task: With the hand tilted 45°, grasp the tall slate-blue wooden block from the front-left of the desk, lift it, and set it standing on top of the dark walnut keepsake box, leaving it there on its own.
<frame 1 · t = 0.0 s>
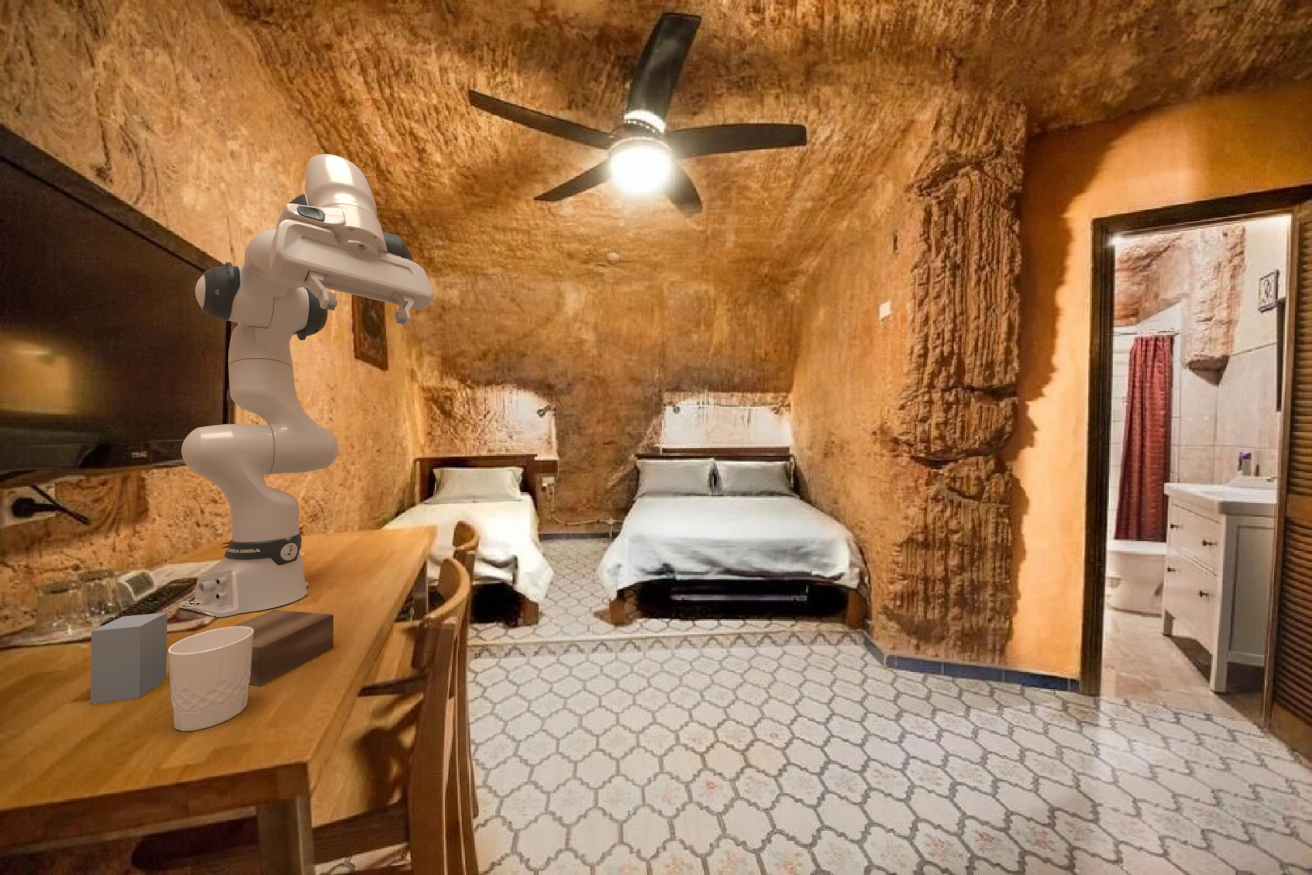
hand: (368, 314, 62), 54 cm above the table, tool tilted 30°, fingers open, 8 cm apart
white cup: (212, 716, 57), on the table
walnut box: (268, 663, 70), on the table
slate block: (130, 690, 62), on the table
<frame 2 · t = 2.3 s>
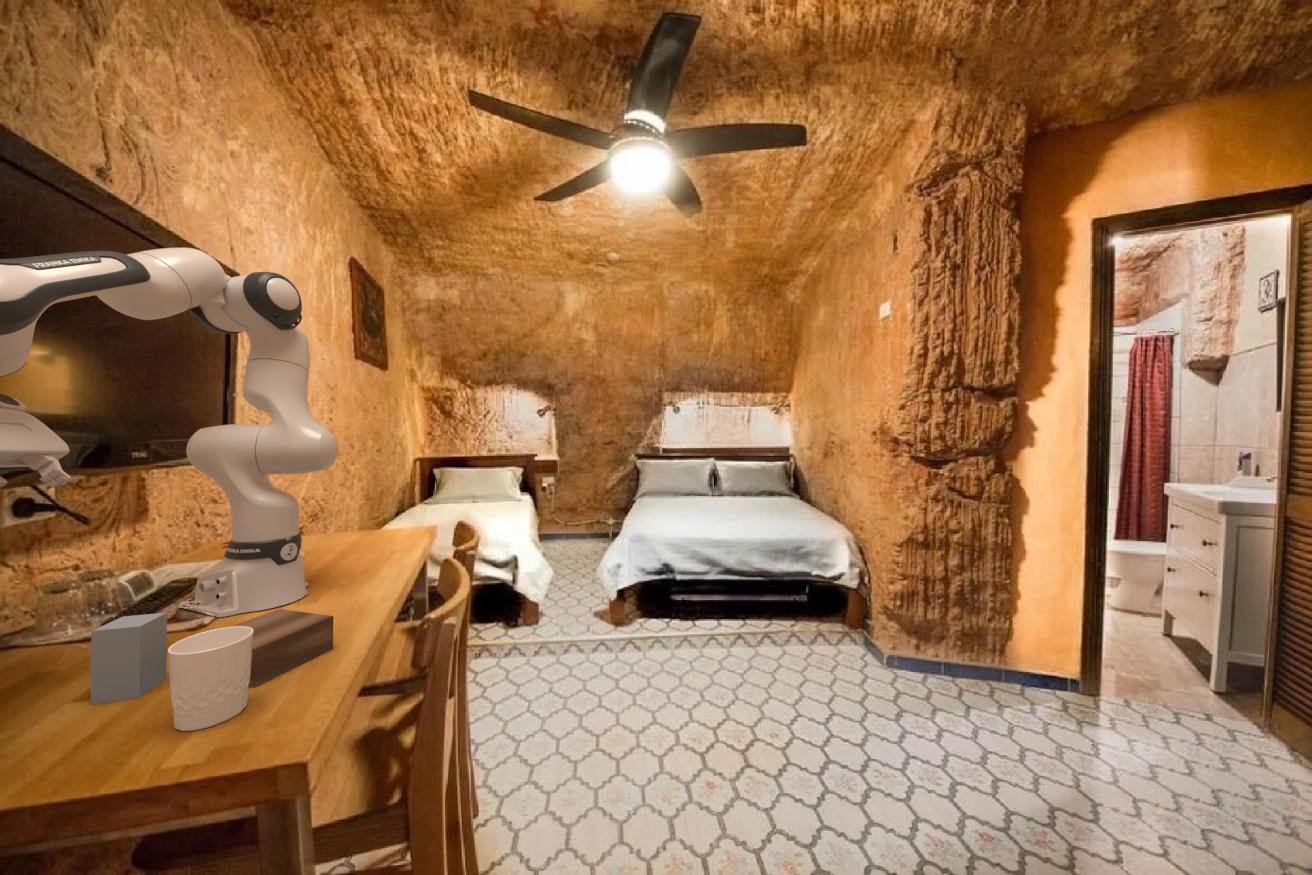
hand: (31, 485, 58), 30 cm above the table, tool tilted 45°, fingers open, 8 cm apart
nothing on the table moved.
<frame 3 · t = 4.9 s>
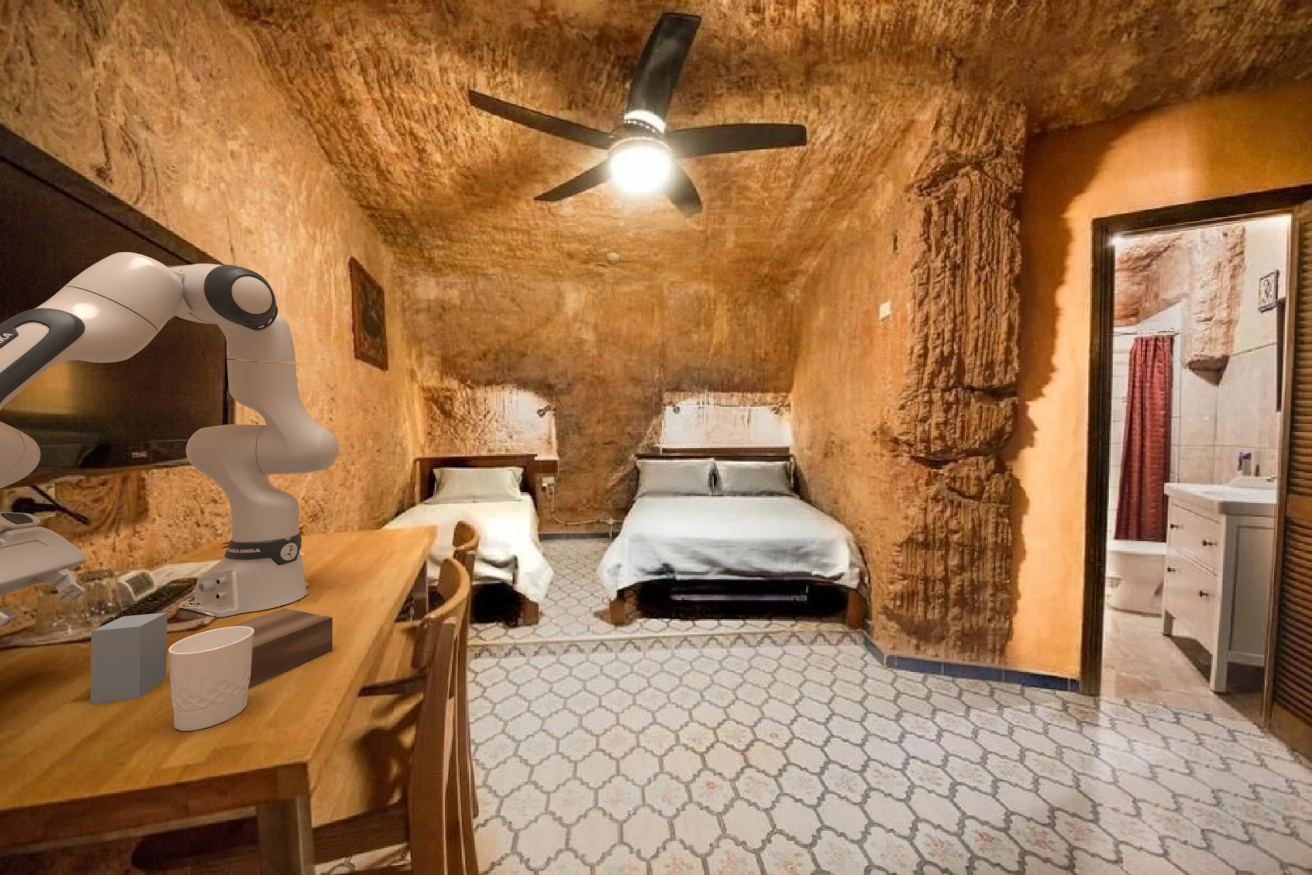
hand: (44, 609, 59), 13 cm above the table, tool tilted 45°, fingers open, 8 cm apart
nothing on the table moved.
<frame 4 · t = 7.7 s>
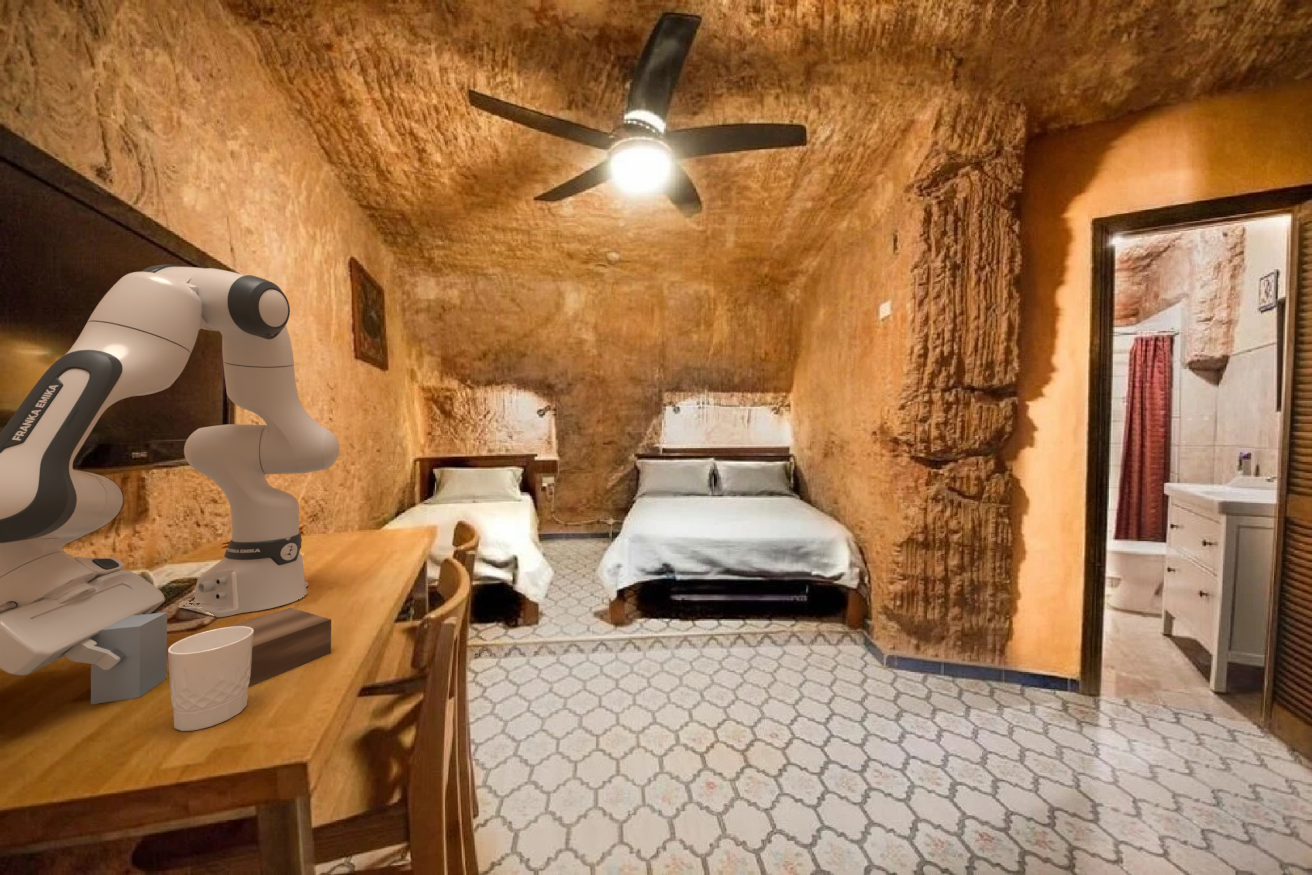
hand: (136, 652, 62), 5 cm above the table, tool tilted 45°, fingers closed on slate block, 5 cm apart
slate block: (130, 690, 62), on the table, touching gripper
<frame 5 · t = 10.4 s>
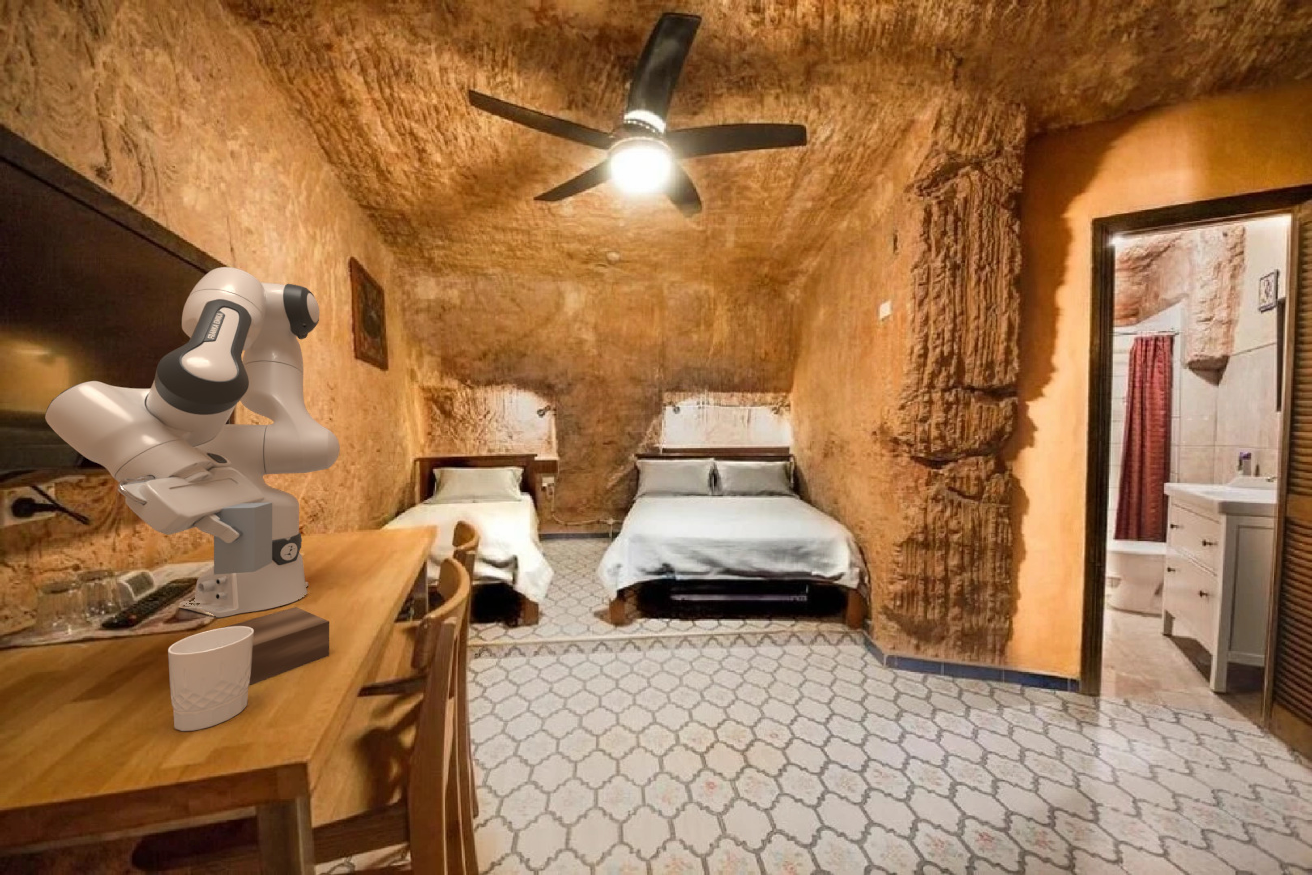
hand: (249, 534, 69), 21 cm above the table, tool tilted 45°, fingers closed on slate block, 5 cm apart
slate block: (244, 568, 69), point 16 cm above the table, touching gripper
when the fingers open (13 cm above the table, at t = 13.1 s): slate block drops 2 cm, resting on walnut box.
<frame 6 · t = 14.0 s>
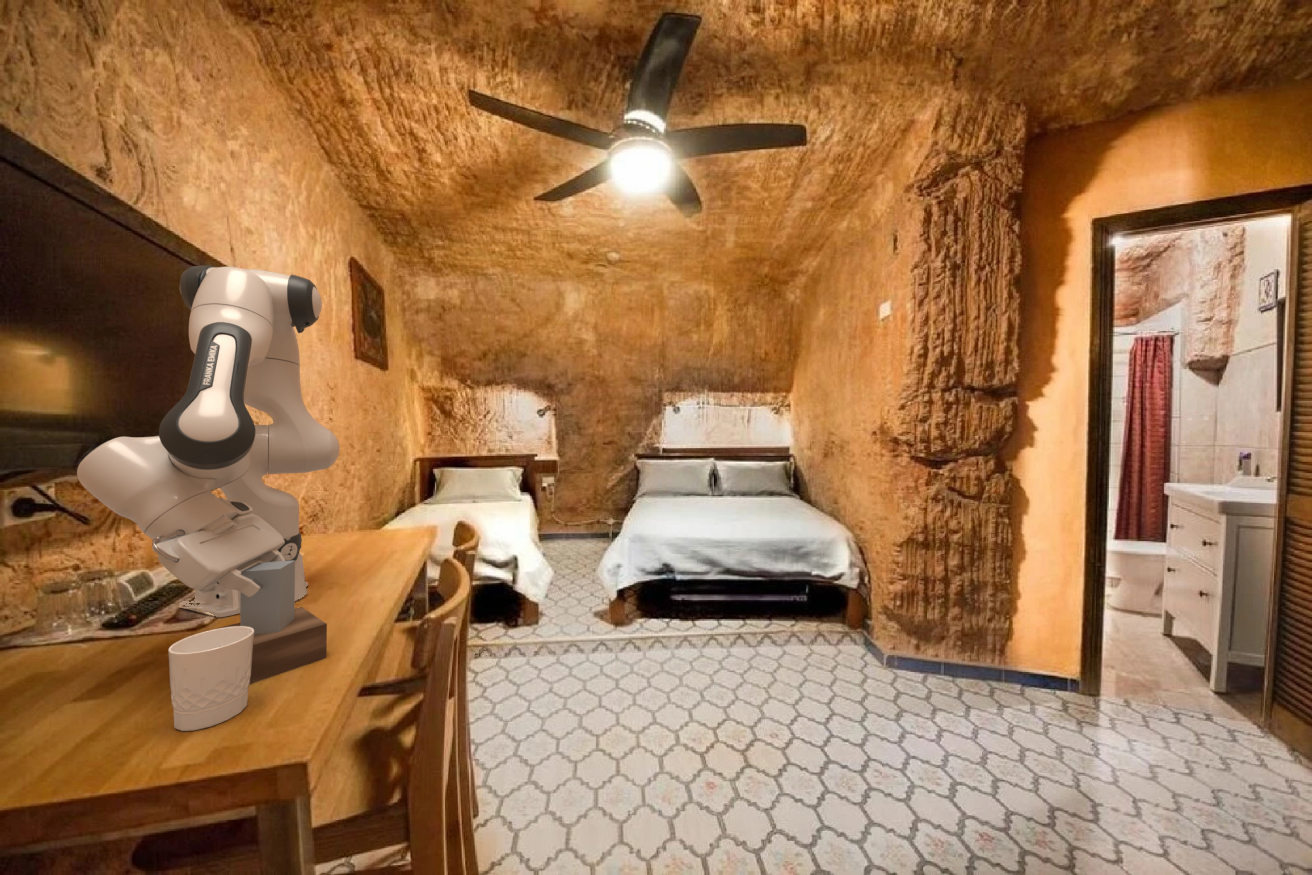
hand: (273, 582, 71), 13 cm above the table, tool tilted 45°, fingers open, 8 cm apart
walnut box: (268, 663, 70), on the table, touching slate block
slate block: (268, 627, 70), point 6 cm above the table, touching walnut box
everything else where it was.
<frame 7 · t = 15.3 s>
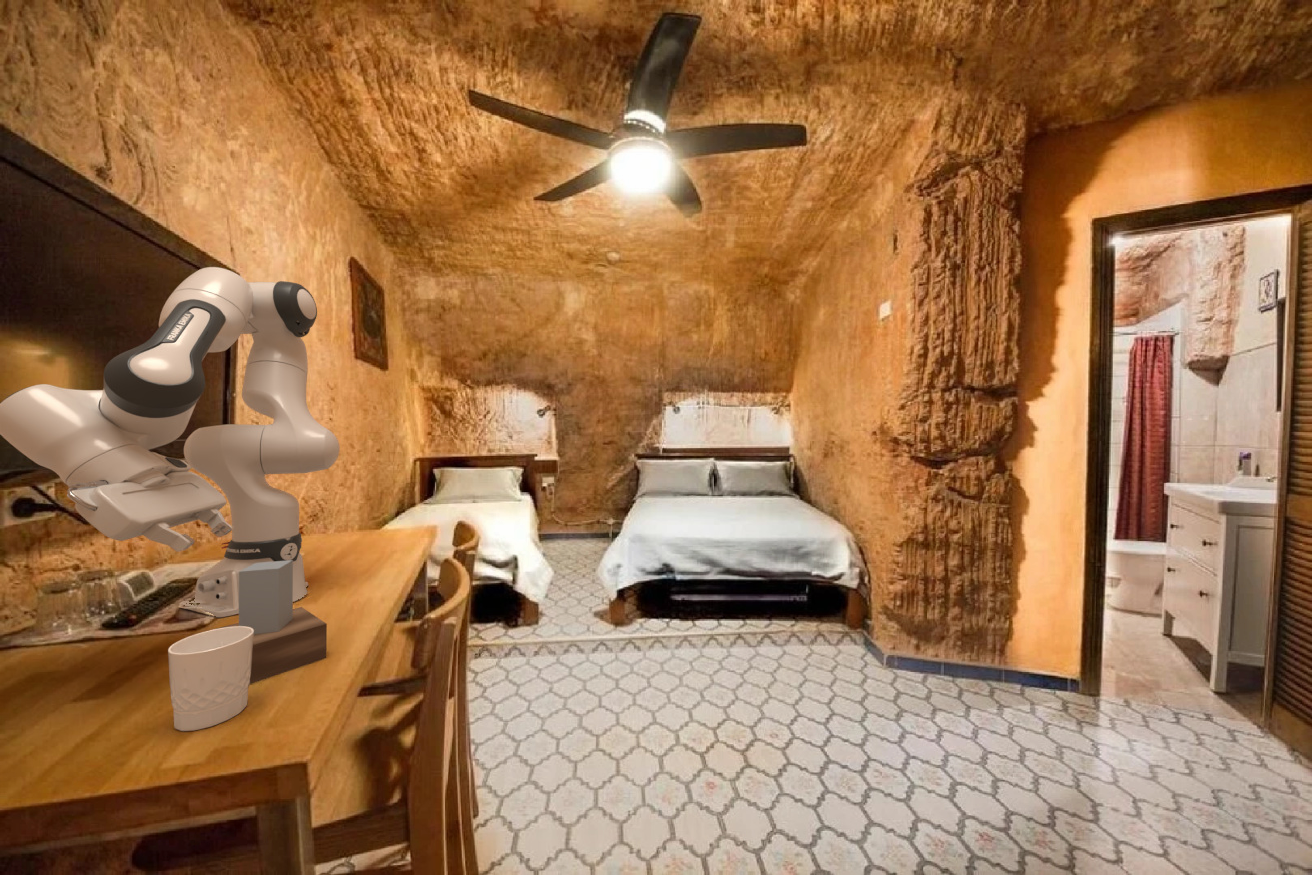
hand: (208, 539, 68), 20 cm above the table, tool tilted 45°, fingers open, 8 cm apart
walnut box: (268, 663, 71), on the table
slate block: (266, 627, 70), point 6 cm above the table
everything else where it was.
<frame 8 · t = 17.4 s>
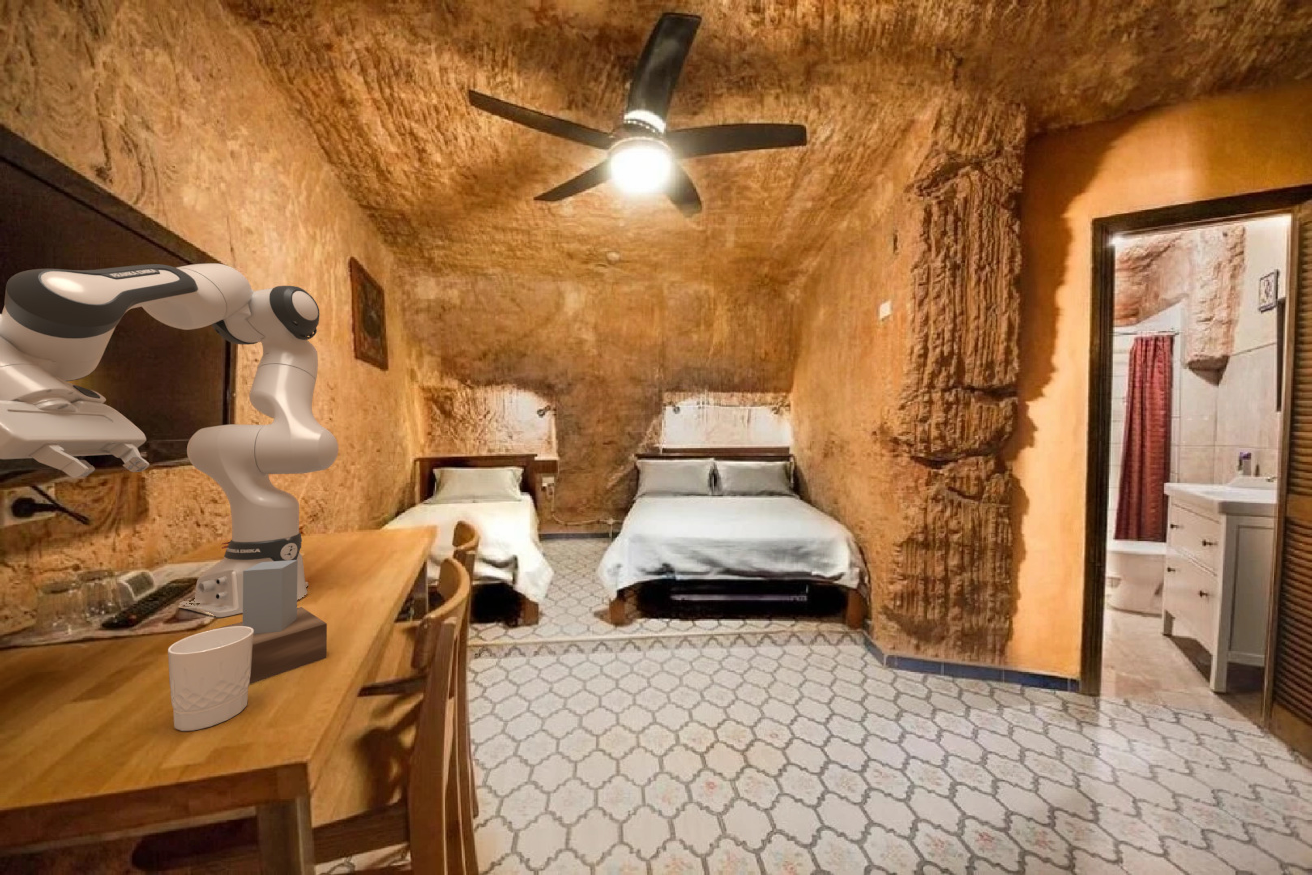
hand: (116, 471, 63), 31 cm above the table, tool tilted 45°, fingers open, 8 cm apart
walnut box: (268, 663, 71), on the table, touching slate block
slate block: (270, 626, 71), point 6 cm above the table, touching walnut box
everything else where it was.
at the end: slate block inside the target area on the walnut box (0.4 cm from its centre), point 6.0 cm above the walnut box's base; slate block tilted 0°; the gripper is holding nothing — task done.
